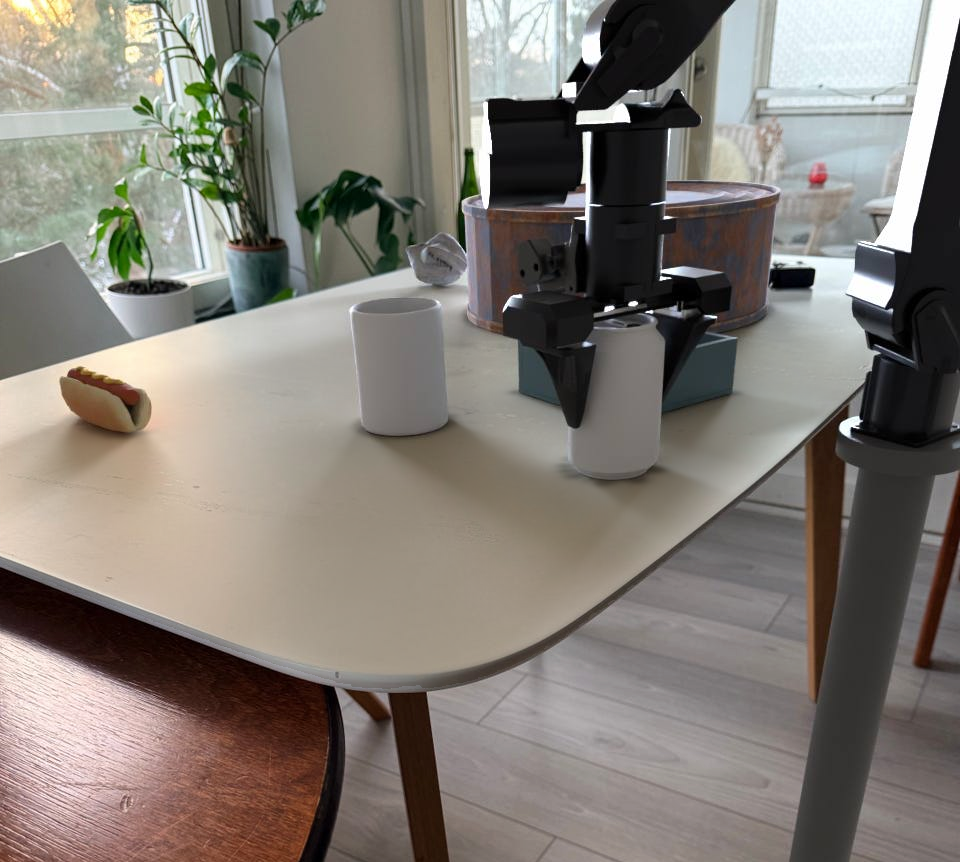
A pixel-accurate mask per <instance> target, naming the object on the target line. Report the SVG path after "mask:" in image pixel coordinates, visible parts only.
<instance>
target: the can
mask: <svg viewBox="0 0 960 862" xmlns="http://www.w3.org/2000/svg"><path fill="white" fill-rule="evenodd" d="M657 323H658V321H657V319H656V318H655V317H653V316H650V315H646V314H634V315H629V316H624V317H619V318H614V319H609V320H604V321H599V322H594V329H593V330H592V332H591V333H590V335H589V336H588V338H587V339H586V341H585V342H589V343H593V344H596V351H595V357H594V362H593V368H592V373H591V378H590V384H589V389H588V395H587V400H586V406H585V411H584V415H583V418H582V422H581V425H580V428H577V429H574V428H571V427H569V426H568V425H567V461H568V462H569V463H570V464H571V465H572V466H573V467H574V468H576V470H577V471H578V472H579V474H582V475H584V476H586V477H589V478H592V479H598V480H607V481H609V480H610V481H612V480H613V481H614V480H615V481H617V480H626V479H633V478H636V477H640V476H641V475H643V474H646V472H648V470H649V469H650V468H651V467H652V466H654V465H655V464H657V462H658V460H659V459H660V439H661V423H662V413H661V406H662V388H663V370H664V352H665V340H664V337H663V336H662V335H661V334H660V333H659V331H658V330H657V329H656V324H657Z"/></svg>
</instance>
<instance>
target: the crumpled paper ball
mask: <svg viewBox="0 0 960 862" xmlns="http://www.w3.org/2000/svg"><path fill="white" fill-rule="evenodd" d="M462 247H463V246H461V245H460V243H459V241H458V240H456V238H455V237H453V236H452V235H451V234H450V233H448V232H443V231H441V232H439V233H438V234H436V235H434V237H432V238H430V239H428V241H426V242H423V241H422V242H419V243H417V244H414V245H408V246H406V248H405V253H406V254H407V256H408V260H409V263H410V266H411V268H412V271H413V275H414V277H415V278H416V279H417V280H418V281H419V282H422V283H424V284H428V285H434V286H445V285H451V284H454V283H455V282H457V281H458V280H459V279H460V278H461V276H462V275H464V273H465V272H466V271H467V254H466V252H465V249H463V248H462Z"/></svg>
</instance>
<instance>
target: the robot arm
mask: <svg viewBox="0 0 960 862" xmlns="http://www.w3.org/2000/svg"><path fill="white" fill-rule="evenodd" d="M736 1H737V0H604V1H602V2H601V3H599V5H598V6H597V7H596V8H595V9H594V10H593V12H591V14H589V17H588V19H587V20H586V22H585V25H584V31H583V36H582V41H581V48H582V49H581V50H582V55H581V56H580V58H579V60H578V61H577V62H576V64H575V66H573V67H574V68H573V69H572V70H571V72H570V74H569V75H568V77H567V78H566V80H565V81H564V83H562V86H561V88H560V89H559V91H558V93H557V95H556V96H555V98H553V99H552V98H549V99H527V100H526V99H525V100H517V99H514V98H509V97H491V98H486V99H485V100H484V101H483V122H482V123H483V124H482V137H481V145H482V146H481V150H479V152H478V153H479V154H478V155H479V157H478V158H479V176H480V177H479V178H480V179H479V180H480V188H481V189H480V190H481V194H482V198H483V203H484V207H485V209H502V208H522V207H541V206H561V205H564V204H565V202H566V199H567V195H568V192H575V190H576V189H579V187H580V185H581V183H582V181H583V175H584V133H586V168H585V169H586V171H585V173H586V174H585V175H586V176H585V183H586V211H585V217H580V218H574V223H573V224H572V227H571V240H570V242H567V243H565V244H561V245H554V246H552V245H551V243H550V242H549V240H548V238H546V237H541V238H534V239H528V240H526V241H524V242H522V243H520V244H519V250H518V271H519V276H520V281H521V283H522V284H523V285H524V286H525V287H527V286H533V285H537V286H538V292H533V293H527V294H521V295H515V296H511V297H510V299H509V300H508V302H507V304H506V305H505V307H504V309H503V313H502V314H503V334H502V336H504V337H507V338H510V339H513V340H517V341H518V340H519V342H520V344H521V345H522V346H525V347H528V348H532V349H534V350H535V352H536V353H537V354H538V355H539V356H540V357H541V359H542V360H543V362H544V364H545V366H546V368H547V370H548V372H549V374H550V377H551V379H552V382H553V385H554V388H555V390H556V393H557V396H558V399H559V402H560V405H561V406H560V405H559V406H560V407H561V410H562V414H563V416H564V419H565V423H566V425H567V427H568V426H569V427H571V428H574V429H577V428H580V425H581V422H582V418H583V415H584V411H585V406H586V400H587V395H588V389H589V384H590V378H591V373H592V368H593V362H594V357H595V351H596V344H593V343H589V342H585V341H586V339H587V338H588V336H589V335H590V333H591V332H592V330H593V329H594V322H599V321H604V320H609V319H614V318H619V317H624V316H629V315H634V314H639V313H641V314H646V315H650V316H653V317H655V318H656V319H657V321H658V323H657V324H656V329H657V330H658V331H659V333H660V334H661V335H662V336H663V337H664V340H665V352H664V370H663V388H662V405H663V403H664V401H665V400H666V398H667V396H668V394H669V393H670V391H671V389H672V387H673V385H674V384H675V382H676V380H677V378H678V376H679V375H680V373H681V371H682V369H683V368H684V366H685V364H686V362H687V361H688V359H689V357H690V356H691V354H692V353H693V351H694V350H695V348H696V346H697V345H698V343H699V342H700V340H701V339H702V337H703V336H704V334H705V333H706V331H707V329H708V328H709V327H710V326H711V325H714V324H716V321H717V317H716V316H711V314H716V313H721V312H725V311H730V303H731V293H732V285H731V283H730V281H729V280H728V278H727V276H726V274H725V272H719V271H712V270H705V269H698V268H692V267H685V266H682V267H677V268H671V269H665V270H661V269H662V253H663V237H664V234H670V233H676V226H677V217H667V216H665V206H666V188H667V180H668V170H669V155H670V139H671V138H670V137H671V129H689V128H698V127H700V126H701V124H702V123H703V118H702V116H701V115H700V114H699V112H697V111H696V110H695V109H694V108H693V107H692V106H691V104H689V102H688V100H687V99H686V97H685V96H684V93H683V91H682V89H680V88H679V87H678V88H668V89H667V90H666V91H665V93H664V94H663V96H662V97H660V99H659V100H657V101H639V102H621V103H619V104H618V106H617V107H616V110H615V112H614V115H613V119H612V120H607V121H606V120H605V121H590V122H589V121H587V122H586V121H585V122H584V121H583V122H577V121H578V113H579V112H585V111H586V112H589V111H606V110H608V109H609V108H611V107H612V106H613V105H614V104H615V103H616V102H618V101H619V100H621V98H623V97H625V95H627V94H628V93H637V92H646V91H652V90H655V89H656V88H658V87H659V86H661V85H663V84H664V83H666V82H667V81H669V79H671V78H672V76H673V75H675V73H676V72H677V71H678V70H679V69H680V67H682V65H683V64H684V63H685V62H686V61H687V60H688V59H689V58H690V56H692V55H693V54H694V52H695V51H696V50H697V49H698V48H699V47H700V46H701V44H703V42H705V40H706V39H707V38H708V36H709V35H710V34H711V32H712V30H713V29H714V28H715V27H716V25H717V23H718V22H719V21H720V19H721V18H722V17H723V15H725V13H726V12H727V11H728V10H729V9H730V8H731V6H732V5H733V4H734V3H735V2H736ZM910 119H911V120H910V124H909V129H908V135H907V140H906V144H905V149H904V154H903V159H902V163H901V167H900V168H901V169H900V173H899V178H898V183H897V187H896V188H897V189H896V193H895V198H894V202H893V207H892V212H891V214H890V218H889V220H888V222H887V223H886V225H885V226H884V228H883V230H882V231H881V232H880V234H879V236H878V237H877V239H876V240H875V241H874V243H871V242H867V241H861V240H860V241H859V242H858V243H857V244H856V247H855V252H854V269H853V275H852V278H851V281H850V284H849V285H848V288H847V289H846V291H845V296H848V297H850V298H851V312H852V317H853V318H854V319H855V321H856V322H857V323H858V325H859V326H860V328H861V329H863V330H864V336H865V341H866V346H867V349H869V350H870V351H875V352H877V354H874V355H873V359H872V363H871V370H868V372H866V373H865V377H864V384H863V390H862V396H861V401H860V407H859V413H858V416H859V419H860V420H862V421H861V422H858V423H855V424H853V425H851V428H850V431H852V432H855V433H859V434H863V435H866V436H870V437H874V438H878V439H881V440H885V441H889V442H893V443H897V444H900V445H904V446H908V447H912V448H922V447H924V446H927V445H930V444H932V443H935V442H937V441H940V440H943V439H945V438H948V437H950V436H953V435H956V434H958V433H960V426H957V425H953V424H952V422H954V418H955V413H956V408H957V404H958V399H959V395H960V0H935V3H934V8H933V13H932V17H931V23H930V27H929V33H928V36H927V41H926V47H925V51H924V57H923V62H922V66H921V71H920V76H919V81H918V85H917V91H916V96H915V100H914V105H913V110H912V115H911V118H910ZM563 292H566V293H567V294H565V293H563ZM572 293H574V294H576V293H583V294H584V297H579V296H574V295H569V294H572ZM632 300H633V301H635V300H637V302H633V303H629V301H632ZM609 305H613V307H612V306H610V307H606V308H605V306H609Z"/></svg>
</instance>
